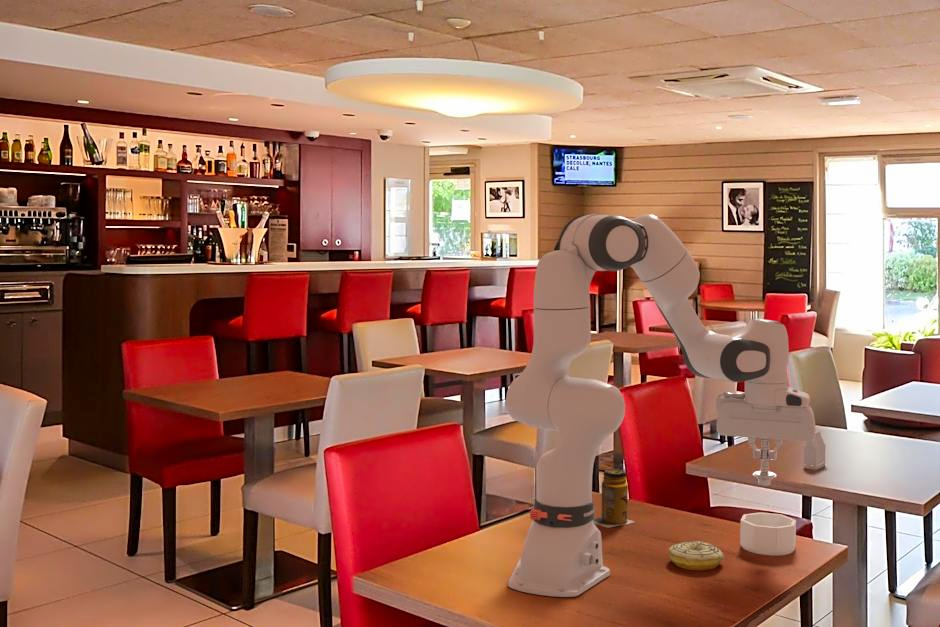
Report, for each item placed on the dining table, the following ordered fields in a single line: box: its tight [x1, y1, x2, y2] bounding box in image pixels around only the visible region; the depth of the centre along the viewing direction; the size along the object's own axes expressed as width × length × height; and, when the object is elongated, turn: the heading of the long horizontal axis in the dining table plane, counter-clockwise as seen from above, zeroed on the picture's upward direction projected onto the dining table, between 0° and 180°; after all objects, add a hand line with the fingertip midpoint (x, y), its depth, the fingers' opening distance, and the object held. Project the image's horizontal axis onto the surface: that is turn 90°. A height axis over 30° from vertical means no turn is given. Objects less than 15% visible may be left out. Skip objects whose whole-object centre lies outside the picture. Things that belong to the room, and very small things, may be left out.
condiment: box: [593, 468, 635, 529], centre depth 225 cm, size 7×8×12 cm
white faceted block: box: [803, 431, 826, 471], centre depth 278 cm, size 4×7×10 cm, turn 138°
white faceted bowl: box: [739, 511, 797, 557], centre depth 205 cm, size 11×11×6 cm
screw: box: [752, 438, 777, 487], centre depth 205 cm, size 13×5×5 cm
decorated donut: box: [668, 540, 725, 572], centre depth 195 cm, size 10×11×4 cm
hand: (764, 458), depth 205 cm, fingers closed on screw, 2 cm apart
